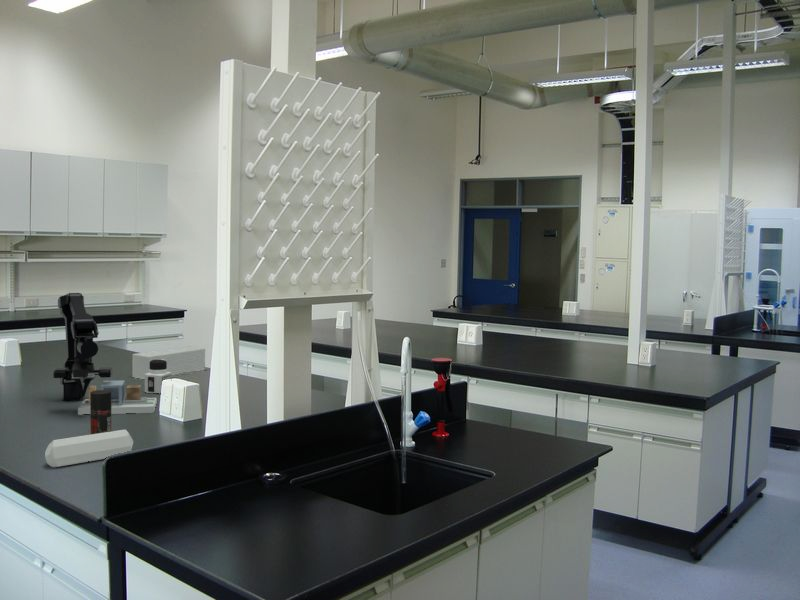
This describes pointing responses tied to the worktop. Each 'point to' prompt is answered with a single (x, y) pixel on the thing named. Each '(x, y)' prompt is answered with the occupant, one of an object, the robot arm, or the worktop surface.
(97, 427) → the deodorant
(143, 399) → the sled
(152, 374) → the container
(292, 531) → the worktop surface
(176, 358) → the long grey rectangular block
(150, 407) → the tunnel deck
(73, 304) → the robot arm
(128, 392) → the block
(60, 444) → the crystal
